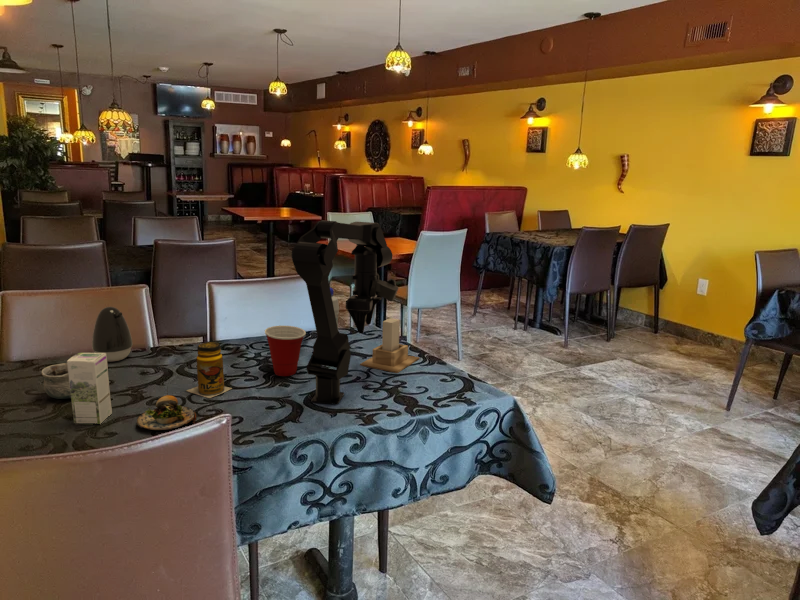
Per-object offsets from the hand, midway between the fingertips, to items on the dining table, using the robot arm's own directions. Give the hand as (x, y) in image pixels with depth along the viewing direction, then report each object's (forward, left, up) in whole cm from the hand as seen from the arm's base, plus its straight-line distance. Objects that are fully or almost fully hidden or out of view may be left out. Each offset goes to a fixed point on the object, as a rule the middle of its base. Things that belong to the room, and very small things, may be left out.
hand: (364, 328), depth 152 cm
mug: (-29, +64, -13) cm, 72 cm away
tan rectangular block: (+12, -5, -12) cm, 18 cm away
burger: (-38, +35, -14) cm, 53 cm away
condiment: (-19, +35, -13) cm, 42 cm away
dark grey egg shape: (-3, +72, -13) cm, 73 cm away
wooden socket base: (+12, -5, -13) cm, 18 cm away
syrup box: (-40, +51, -13) cm, 66 cm away
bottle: (+17, +15, -13) cm, 26 cm away
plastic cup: (-3, +21, -13) cm, 25 cm away
